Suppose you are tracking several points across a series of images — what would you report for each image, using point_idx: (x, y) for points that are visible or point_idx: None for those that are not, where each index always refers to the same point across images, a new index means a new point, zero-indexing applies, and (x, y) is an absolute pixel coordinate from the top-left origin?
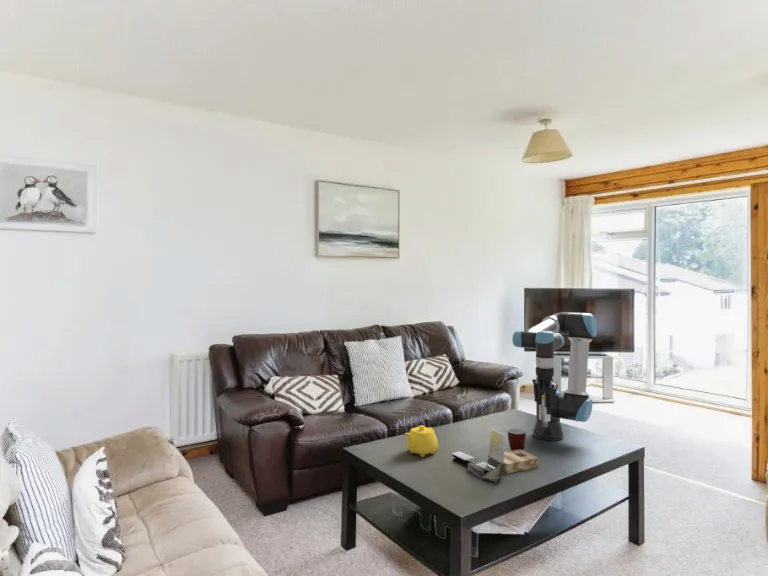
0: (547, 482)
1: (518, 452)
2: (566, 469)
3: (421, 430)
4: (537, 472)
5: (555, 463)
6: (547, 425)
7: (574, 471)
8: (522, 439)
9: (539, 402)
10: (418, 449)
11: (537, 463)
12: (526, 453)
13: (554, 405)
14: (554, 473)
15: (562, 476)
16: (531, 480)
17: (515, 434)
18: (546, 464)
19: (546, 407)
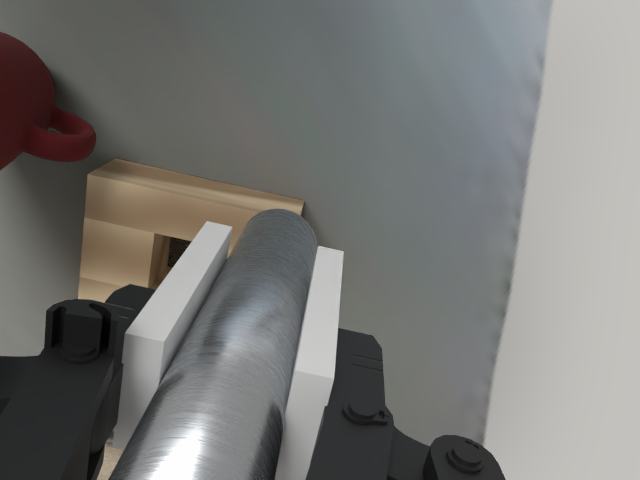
0: (486, 357)
1: (136, 243)
2: (460, 81)
3: None
4: (358, 279)
5: (340, 40)
6: (315, 249)
7: (521, 68)
8: (25, 122)
9: (95, 477)
10: None
11: (300, 215)
12: (185, 214)
13: (485, 469)
14: (441, 211)
15: (504, 214)
16: (406, 397)
17: None
18: (310, 114)
19: (310, 461)
